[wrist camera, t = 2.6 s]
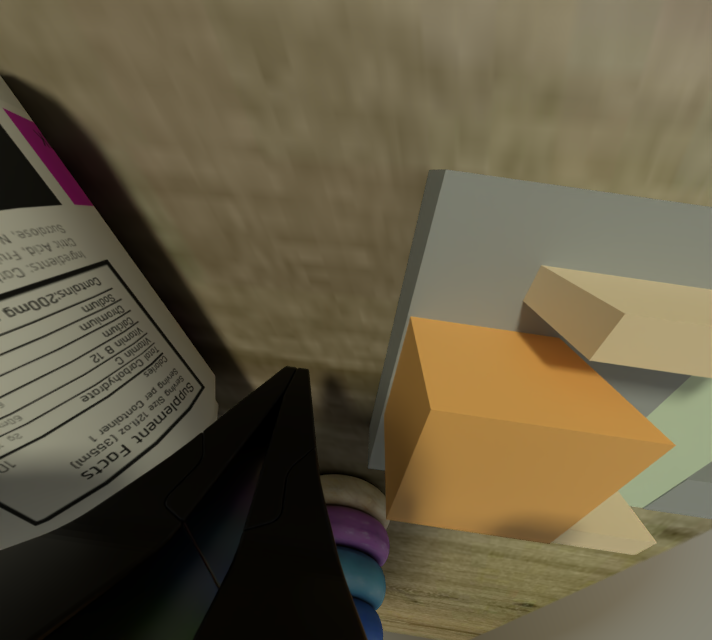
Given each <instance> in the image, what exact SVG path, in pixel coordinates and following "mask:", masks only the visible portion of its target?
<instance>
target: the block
mask: <svg viewBox="0 0 712 640" xmlns="http://www.w3.org/2000/svg"><path fill="white" fill-rule="evenodd" d="M384 441H385V488H386V520H392V521H399V522H405V523H412V524H419V525H426V526H432V527H439V528H446V529H452V530H459V531H466V532H473V533H479V534H486V535H493V536H500V537H506V538H513V539H520V540H526V541H533V542H540V543H547V544H550V543H551V542H552V541H554V540H555V539H556V538H558V537H559V536H560V535H561V534H563V533H564V532H565V531H567V530H568V529H569V528H571V527H572V526H573V525H574V524H576V523H577V522H578V521H580V520H581V519H582V518H583V517H585V516H586V515H587V514H589V513H590V512H591V511H592V510H594V509H595V508H596V507H598V506H599V505H600V504H601V503H603V502H604V501H605V500H607V499H608V498H609V497H610V496H612V495H613V494H614V493H616V492H617V491H618V490H619V489H621V488H622V487H623V486H625V485H626V484H627V483H628V482H630V481H631V480H632V479H634V478H635V477H636V476H637V475H639V474H640V473H641V472H643V471H644V470H645V469H646V468H648V467H649V466H650V465H652V464H653V463H654V462H655V461H657V460H658V459H659V458H661V457H662V456H663V455H664V454H666V453H667V452H668V451H670V450H671V449H672V448H673V447H675V446H676V445H675V444H674V443H673V442H672V441H671V440H669V439H668V438H667V437H666V436H665V435H664V434H663V433H662V432H661V431H660V430H659V429H658V428H656V427H655V426H654V425H653V424H652V423H651V422H650V421H649V420H648V419H647V418H646V417H645V416H643V415H642V414H641V413H640V412H639V411H638V410H637V409H636V408H635V407H634V406H633V405H632V404H630V403H629V402H628V401H627V400H626V399H625V398H624V397H623V396H622V395H621V394H620V393H619V392H617V391H616V390H615V389H614V388H613V387H612V386H611V385H610V384H609V383H608V382H607V381H606V380H604V379H603V378H602V377H601V376H600V375H599V374H598V373H597V372H596V371H595V370H594V369H593V368H591V367H590V366H589V365H588V364H587V363H586V362H585V361H584V360H583V359H582V358H581V357H580V356H578V355H577V354H576V353H575V352H574V351H573V350H572V349H571V348H570V347H569V346H568V345H567V344H565V343H564V342H563V341H562V340H561V339H560V338H557V337H550V336H543V335H536V334H529V333H522V332H516V331H509V330H502V329H495V328H488V327H481V326H474V325H467V324H460V323H453V322H446V321H439V320H433V319H426V318H419V317H412V316H410V320H409V324H408V327H407V331H406V335H405V339H404V342H403V346H402V350H401V353H400V357H399V361H398V365H397V368H396V372H395V376H394V379H393V383H392V387H391V391H390V394H389V398H388V402H387V405H386V409H385V413H384Z"/></svg>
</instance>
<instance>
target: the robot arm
mask: <svg viewBox="0 0 712 640" xmlns="http://www.w3.org/2000/svg"><path fill="white" fill-rule="evenodd" d="M0 640H368V639H367V636H366V633H365V631H364V628H363V625H362V622H361V620H360V617H359V614H358V612H357V609H356V606H355V604H354V601H353V598H352V595H351V593H350V590H349V587H348V585H347V582H346V579H345V576H344V573H343V569H342V566H341V562H340V559H339V555H338V551H337V547H336V543H335V539H334V535H333V531H332V527H331V523H330V519H329V514H328V510H327V506H326V502H325V498H324V493H323V489H322V484H321V479H320V472H319V465H318V456H317V449H316V437H315V427H314V417H313V407H312V396H311V386H310V376H309V370H308V369H304V368H298V369H297V368H296V367H290V366H286V367H284V368H283V369H281V370H280V371H279V372H278V373H276V374H275V375H274V376H273V377H271V378H270V379H269V380H267V381H266V382H265V383H264V384H262V385H261V386H260V387H258V388H257V389H256V390H255V391H253V392H252V393H251V394H250V395H248V396H247V397H246V398H244V399H243V400H242V401H241V402H239V403H238V404H237V405H236V406H234V407H233V408H232V409H230V410H229V411H228V412H227V413H225V414H224V415H223V416H221V417H220V418H219V419H218V420H216V421H215V422H214V423H213V424H211V425H210V426H209V427H207V428H206V429H205V430H204V431H203V433H200V434H198V435H197V436H196V437H195V438H193V439H192V440H191V441H189V442H188V443H187V444H185V445H184V446H183V447H181V448H180V449H179V450H177V451H176V452H175V453H173V454H172V455H171V456H169V457H168V458H166V459H165V460H164V461H162V462H161V463H159V464H158V465H156V466H155V467H153V468H152V469H151V470H149V471H148V472H146V473H145V474H143V475H142V476H140V477H139V478H137V479H136V480H134V481H133V482H131V483H130V484H128V485H127V486H125V487H124V488H122V489H121V490H119V491H118V492H116V493H115V494H113V495H112V496H110V497H109V498H107V499H106V500H104V501H103V502H101V503H100V504H98V505H97V506H95V507H94V508H92V509H91V510H89V511H88V512H86V513H84V514H83V515H81V516H80V517H78V518H76V519H74V520H73V521H71V522H69V523H67V524H65V525H63V526H61V527H59V528H57V529H55V530H53V531H50V532H48V533H46V534H43V535H41V536H38V537H35V538H32V539H30V540H27V541H24V542H21V543H18V544H16V545H13V546H10V547H7V548H5V549H2V550H0Z"/></svg>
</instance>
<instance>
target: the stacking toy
mask: <svg viewBox="0 0 712 640" xmlns="http://www.w3.org/2000/svg"><path fill="white" fill-rule="evenodd" d="M320 479H321V484H322V489H323V493H324V498H325V502H326V506H327V510H328V514H329V519H330V523H331V527H332V531H333V535H334V539H335V543H336V547H337V551H338V555H339V559H340V562H341V566H342V569H343V573H344V576H345V579H346V582H347V585H348V587H349V590H350V593H351V595H352V598H353V601H354V604H355V606H356V609H357V612H358V614H359V617H360V620H361V622H362V625H363V628H364V631H365V633H366V636H367V639H368V640H383V629H382V624H381V621H380V618H379V616H378V614H377V612H376V611H375V610H377V609H378V608H379V607H380V605H381V604H382V602H383V600H384V597H385V591H386V584H385V577H384V574H383V571H382V569H381V566H382V565H383V564H384V563H385V562H386V560H387V558H388V555H389V547H390V545H389V538H388V535H387V532H386V529H387V527H388V525H389V522H390V520H386V497H385V495H384V494H383V493H382V492H381V491H380V490H379V489H378V488H376V487H375V486H373V485H372V484H370V483H368V482H366V481H364V480H361V479H359V478H356V477H352V476H347V475H337V474H331V475H321V476H320Z"/></svg>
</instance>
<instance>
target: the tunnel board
mask: <svg viewBox="0 0 712 640" xmlns="http://www.w3.org/2000/svg"><path fill="white" fill-rule="evenodd" d="M410 316H412V317H419V318H426V319H433V320H439V321H446V322H453V323H460V324H467V325H474V326H481V327H488V328H495V329H502V330H509V331H516V332H522V333H529V334H536V335H543V336H550V337H557V338H560V339H561V340H562V341H563V342H564V343H565V344H567V345H568V346H569V347H570V348H571V349H572V350H573V351H574V352H575V353H576V354H577V355H578V356H580V357H581V358H582V359H583V360H584V361H585V362H586V363H587V364H588V365H589V366H590V367H591V368H593V369H594V370H595V371H596V372H597V373H598V374H599V375H600V376H601V377H602V378H603V379H604V380H606V381H607V382H608V383H609V384H610V385H611V386H612V387H613V388H614V389H615V390H616V391H617V392H619V393H620V394H621V395H622V396H623V397H624V398H625V399H626V400H627V401H628V402H629V403H630V404H632V405H633V406H634V407H635V408H636V409H637V410H638V411H639V412H640V413H641V414H642V415H643V416H645V417H646V418H647V419H648V420H649V421H650V422H651V423H652V424H653V425H654V426H655V427H656V428H658V429H659V430H660V431H661V432H662V433H663V434H664V435H665V436H666V437H667V438H668V439H669V440H671V441H672V442H673V443H674V444H675V445H676V446H675V447H673V448H672V449H671V450H670V451H668V452H667V453H666V454H664V455H663V456H662V457H661V458H659V459H658V460H657V461H655V462H654V463H653V464H652V465H650V466H649V467H648V468H646V469H645V470H644V471H643V472H641V473H640V474H639V475H637V476H636V477H635V478H634V479H632V480H631V481H630V482H628V483H627V484H626V485H625V486H623V487H622V488H621V489H619V490H618V491H617V492H616V493H614V494H613V495H612V496H610V497H609V498H608V499H607V500H605V501H604V502H603V503H601V504H600V505H599V506H598V507H596V508H595V509H594V510H592V511H591V512H590V513H589V514H587V515H586V516H585V517H583V518H582V519H581V520H580V521H578V522H577V523H576V524H574V525H573V526H572V527H571V528H569V529H568V530H567V531H565V532H564V533H563V534H561V535H560V536H559V537H558V538H556V539H555V540H554V541H552V542H551V543H558V544H565V545H571V546H578V547H585V548H591V549H598V550H605V551H612V552H618V553H625V554H632V555H636V554H637V553H639V552H641V551H643V550H645V549H647V548H648V547H650V546H652V545H654V544H656V543H657V542H656V541H655V540H654V538H653V537H652V536H651V534H650V533H649V532H648V530H647V529H646V528H645V526H644V525H643V523H642V522H641V521H640V519H639V518H638V517H637V515H636V514H635V513H634V511H633V510H632V509H631V507H630V506H633V507H640V508H643V509H647V510H654V511H661V512H667V513H674V514H681V515H688V516H695V517H701V518H708V519H712V207H707V206H700V205H693V204H686V203H679V202H672V201H665V200H658V199H651V198H644V197H636V196H629V195H622V194H615V193H608V192H601V191H594V190H587V189H580V188H573V187H566V186H559V185H552V184H545V183H538V182H530V181H523V180H516V179H509V178H502V177H495V176H488V175H481V174H474V173H467V172H460V171H453V170H429V174H428V178H427V182H426V186H425V191H424V195H423V199H422V204H421V208H420V212H419V216H418V221H417V225H416V229H415V234H414V238H413V242H412V247H411V251H410V255H409V259H408V264H407V268H406V272H405V277H404V281H403V285H402V289H401V294H400V298H399V302H398V307H397V311H396V315H395V319H394V324H393V328H392V332H391V337H390V341H389V345H388V350H387V354H386V358H385V362H384V367H383V371H382V375H381V380H380V384H379V388H378V392H377V397H376V401H375V405H374V410H373V414H372V418H371V423H370V427H369V448H368V468H370V469H376V470H383V471H385V441H384V413H385V409H386V405H387V402H388V398H389V394H390V391H391V387H392V383H393V379H394V376H395V372H396V368H397V365H398V361H399V357H400V353H401V350H402V346H403V342H404V339H405V335H406V331H407V327H408V324H409V320H410Z"/></svg>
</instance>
